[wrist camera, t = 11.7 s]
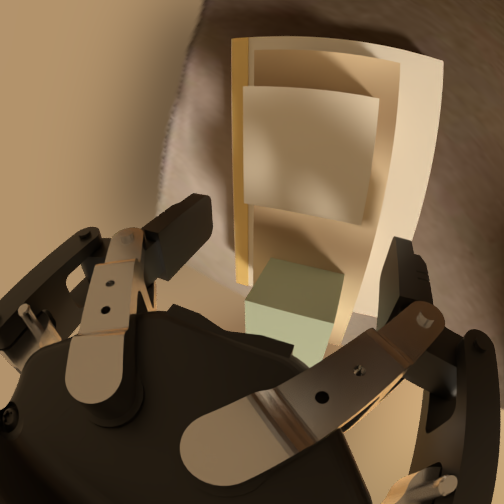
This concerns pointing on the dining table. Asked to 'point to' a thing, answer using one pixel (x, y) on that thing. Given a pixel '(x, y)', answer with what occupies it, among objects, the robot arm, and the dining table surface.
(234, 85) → the dock
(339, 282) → the block
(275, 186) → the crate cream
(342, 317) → the pallet
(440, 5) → the dining table surface
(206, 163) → the dining table surface
